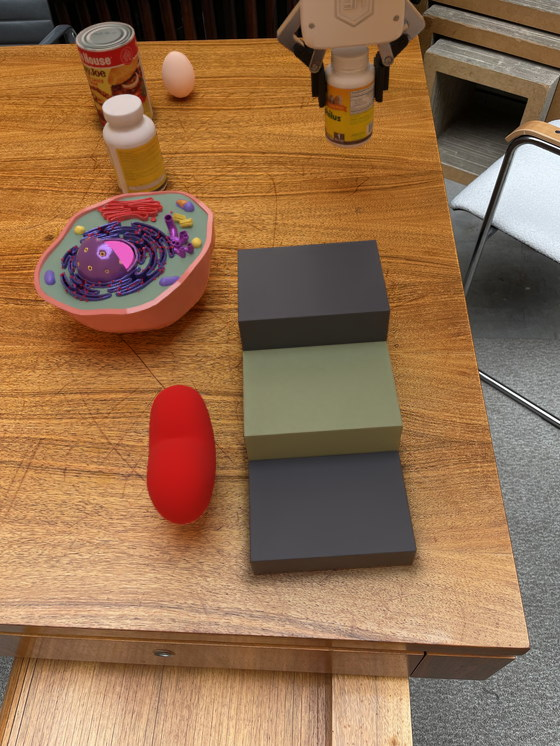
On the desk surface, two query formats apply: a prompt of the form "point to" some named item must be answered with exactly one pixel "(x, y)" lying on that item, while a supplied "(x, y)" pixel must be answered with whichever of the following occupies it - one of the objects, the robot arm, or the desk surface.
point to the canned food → (112, 64)
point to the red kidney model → (180, 455)
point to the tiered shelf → (321, 410)
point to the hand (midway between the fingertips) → (349, 97)
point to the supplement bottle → (349, 97)
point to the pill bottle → (133, 146)
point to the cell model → (130, 261)
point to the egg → (178, 74)
